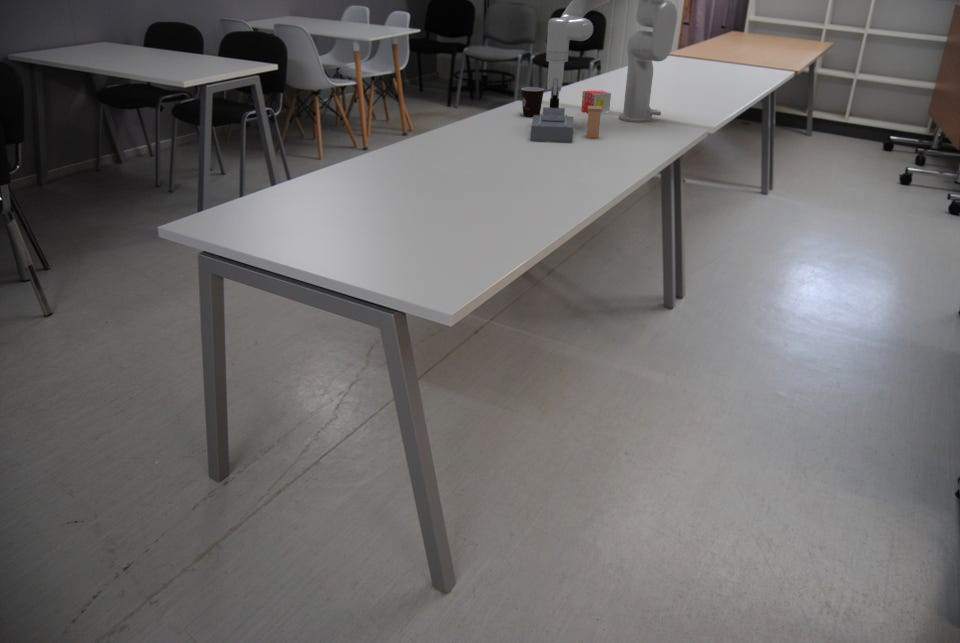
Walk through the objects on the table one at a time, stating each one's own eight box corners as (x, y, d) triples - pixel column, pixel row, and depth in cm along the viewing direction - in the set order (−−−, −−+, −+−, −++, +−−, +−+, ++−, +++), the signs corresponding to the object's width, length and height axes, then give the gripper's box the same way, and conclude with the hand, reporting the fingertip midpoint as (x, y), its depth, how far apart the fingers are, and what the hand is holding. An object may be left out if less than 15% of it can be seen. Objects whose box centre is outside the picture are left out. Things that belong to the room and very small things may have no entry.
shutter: (564, 116, 261) (564, 107, 259) (564, 121, 254) (564, 112, 253) (542, 115, 261) (543, 107, 260) (541, 120, 255) (542, 111, 253)
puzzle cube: (593, 115, 290) (594, 94, 287) (581, 111, 296) (582, 91, 293) (609, 113, 294) (611, 93, 290) (597, 110, 300) (599, 89, 296)
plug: (599, 135, 259) (601, 106, 254) (599, 138, 255) (602, 109, 250) (585, 134, 259) (587, 105, 255) (585, 138, 255) (588, 108, 251)
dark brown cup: (543, 118, 283) (544, 91, 279) (520, 117, 283) (521, 90, 279) (541, 112, 294) (542, 86, 289) (519, 111, 294) (520, 85, 289)
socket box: (572, 130, 265) (573, 115, 262) (572, 142, 249) (573, 126, 246) (533, 129, 266) (533, 113, 264) (530, 140, 250) (531, 124, 248)
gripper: (547, 53, 264) (544, 106, 272) (545, 59, 251) (542, 114, 259) (568, 54, 263) (564, 106, 272) (567, 59, 250) (564, 114, 259)
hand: (554, 110), depth 265 cm, fingers closed
